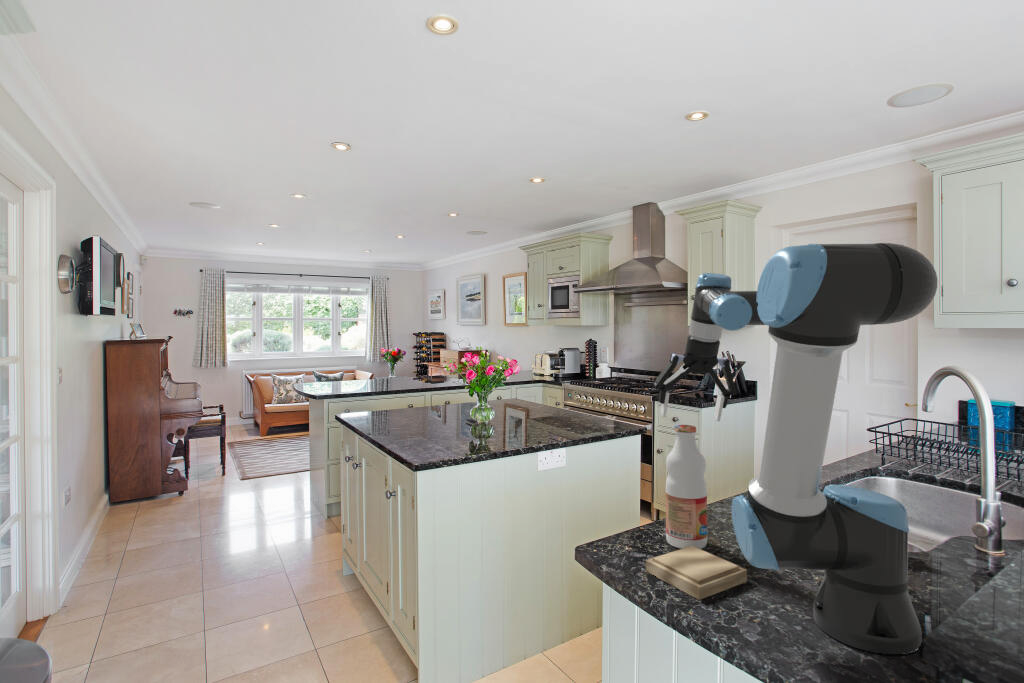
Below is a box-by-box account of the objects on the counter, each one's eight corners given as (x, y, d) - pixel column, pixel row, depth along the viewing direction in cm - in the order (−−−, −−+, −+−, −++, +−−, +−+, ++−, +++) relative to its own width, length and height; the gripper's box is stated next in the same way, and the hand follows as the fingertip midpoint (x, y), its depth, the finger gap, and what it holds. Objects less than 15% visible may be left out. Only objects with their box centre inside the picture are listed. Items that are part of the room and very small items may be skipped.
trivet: (747, 581, 106) (746, 566, 106) (699, 600, 99) (699, 584, 99) (691, 556, 118) (691, 543, 118) (645, 571, 111) (645, 557, 111)
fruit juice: (662, 535, 131) (661, 423, 130) (700, 535, 130) (699, 422, 129) (670, 550, 121) (669, 430, 121) (712, 551, 120) (711, 429, 120)
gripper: (749, 336, 131) (733, 414, 137) (649, 329, 131) (638, 406, 138) (762, 345, 123) (744, 427, 130) (655, 338, 124) (643, 419, 130)
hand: (689, 416), depth 134 cm, fingers open, 13 cm apart
